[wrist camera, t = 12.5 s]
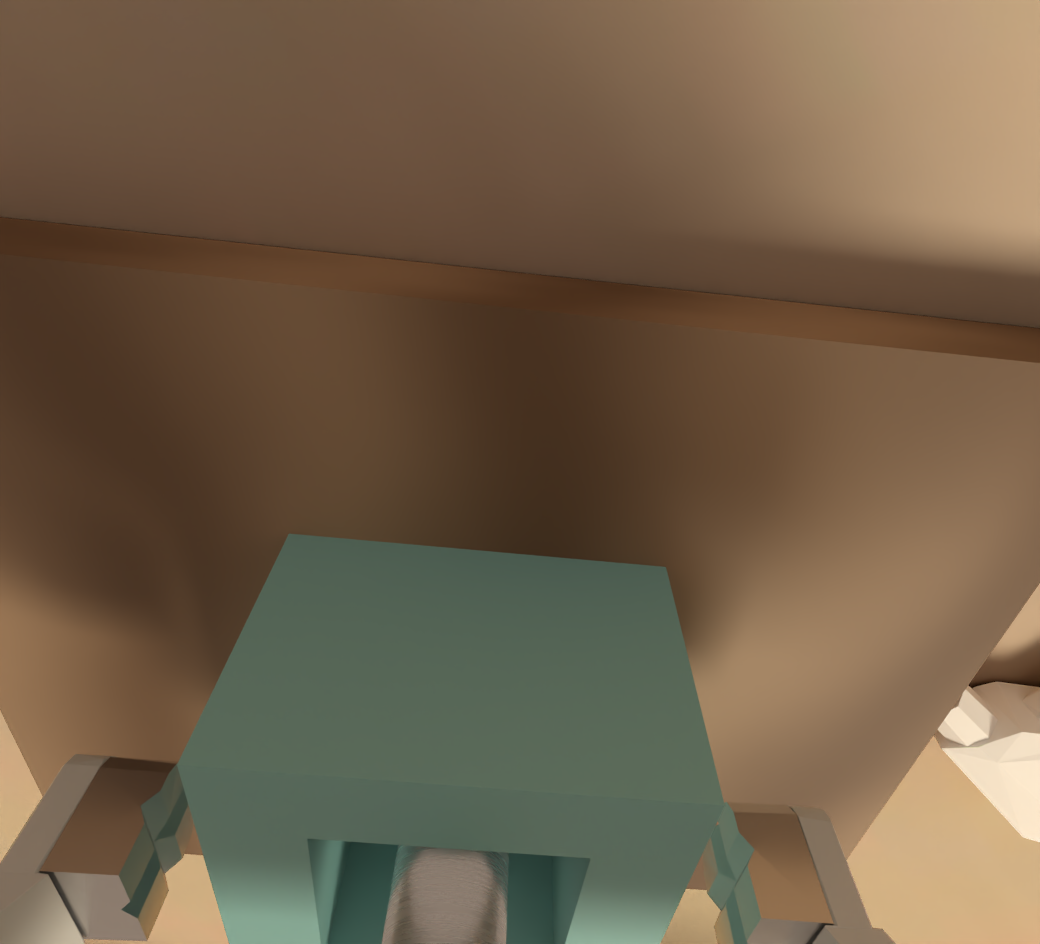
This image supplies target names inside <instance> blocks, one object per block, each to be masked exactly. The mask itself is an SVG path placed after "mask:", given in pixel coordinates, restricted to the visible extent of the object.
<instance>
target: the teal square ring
mask: <svg viewBox="0 0 1040 944" xmlns="http://www.w3.org/2000/svg"><path fill="white" fill-rule="evenodd" d="M177 767H178V771H179V774H180V777H181V781H182V784H183V788H184V791H185V794H186V798H187V801H188V805H189V808H190V812H191V815H192V818H193V822H194V825H195V829H196V832H197V835H198V839H199V842H200V846H201V849H202V853H203V856H204V859H205V863H206V866H207V870H208V873H209V876H210V880H211V883H212V887H213V890H214V894H215V897H216V900H217V904H218V907H219V911H220V914H221V917H222V921H223V924H224V928H225V931H226V935H227V938H228V941H229V944H382V938H383V932H384V926H385V920H386V914H387V908H388V902H389V896H390V890H391V884H392V878H393V872H394V866H395V860H396V854H397V848H398V845H406V846H420V847H434V848H448V849H463V850H477V851H491V852H505V853H509V866H508V900H507V934H506V944H660V943H661V941H662V938H663V936H664V934H665V932H666V930H667V928H668V926H669V924H670V921H671V919H672V917H673V915H674V913H675V911H676V909H677V906H678V904H679V902H680V900H681V898H682V896H683V894H684V892H685V889H686V887H687V885H688V883H689V881H690V879H691V877H692V875H693V872H694V870H695V868H696V866H697V864H698V862H699V860H700V857H701V855H702V853H703V851H704V849H705V847H706V845H707V843H708V840H709V838H710V836H711V834H712V832H713V830H714V828H715V825H716V823H717V821H718V819H719V817H720V815H721V813H722V811H723V808H724V806H725V804H724V800H723V796H722V792H721V788H720V784H719V780H718V776H717V772H716V768H715V764H714V760H713V756H712V752H711V747H710V743H709V739H708V735H707V731H706V727H705V723H704V719H703V715H702V711H701V707H700V703H699V699H698V695H697V691H696V687H695V683H694V679H693V675H692V670H691V666H690V662H689V658H688V654H687V650H686V646H685V642H684V638H683V634H682V630H681V626H680V622H679V618H678V614H677V610H676V606H675V602H674V598H673V593H672V589H671V585H670V581H669V577H668V573H667V569H666V567H661V566H649V565H638V564H627V563H615V562H604V561H593V560H581V559H570V558H559V557H548V556H536V555H525V554H514V553H502V552H491V551H480V550H469V549H457V548H446V547H435V546H423V545H412V544H401V543H389V542H378V541H367V540H356V539H344V538H333V537H322V536H310V535H299V534H288V537H287V539H286V541H285V543H284V545H283V547H282V549H281V551H280V553H279V555H278V557H277V559H276V561H275V563H274V565H273V568H272V570H271V572H270V574H269V576H268V578H267V580H266V582H265V584H264V586H263V588H262V590H261V592H260V594H259V596H258V598H257V601H256V603H255V605H254V607H253V609H252V611H251V613H250V615H249V617H248V619H247V621H246V623H245V625H244V627H243V629H242V632H241V634H240V636H239V638H238V640H237V642H236V644H235V646H234V648H233V650H232V652H231V654H230V656H229V658H228V660H227V662H226V665H225V667H224V669H223V671H222V673H221V675H220V677H219V679H218V681H217V683H216V685H215V687H214V689H213V691H212V693H211V696H210V698H209V700H208V702H207V704H206V706H205V708H204V710H203V712H202V714H201V716H200V718H199V720H198V722H197V724H196V727H195V729H194V731H193V733H192V735H191V737H190V739H189V741H188V743H187V745H186V747H185V749H184V751H183V753H182V755H181V757H180V760H179V762H178V764H177Z"/></svg>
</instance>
